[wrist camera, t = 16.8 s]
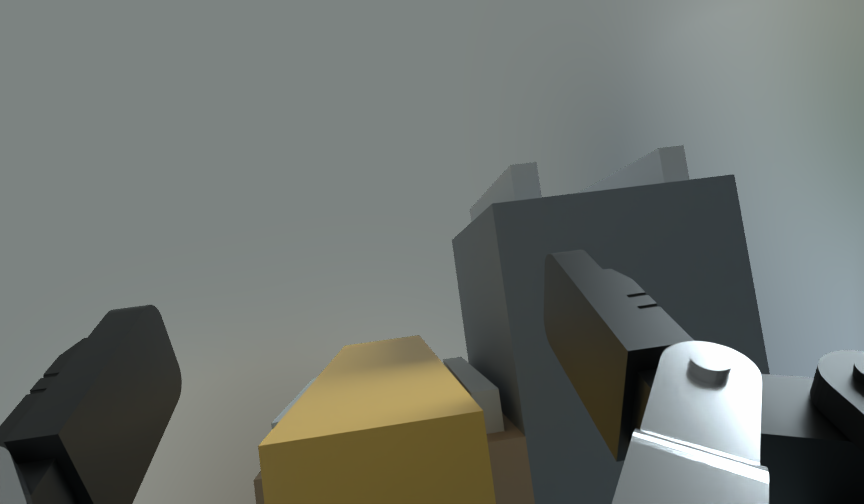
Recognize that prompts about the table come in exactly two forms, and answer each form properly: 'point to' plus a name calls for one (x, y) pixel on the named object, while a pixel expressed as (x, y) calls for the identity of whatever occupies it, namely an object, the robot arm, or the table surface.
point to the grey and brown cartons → (611, 249)
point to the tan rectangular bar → (380, 434)
